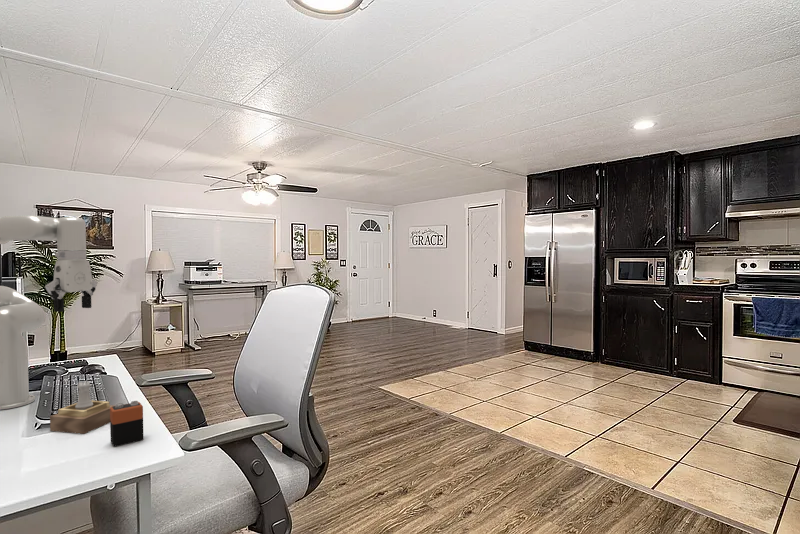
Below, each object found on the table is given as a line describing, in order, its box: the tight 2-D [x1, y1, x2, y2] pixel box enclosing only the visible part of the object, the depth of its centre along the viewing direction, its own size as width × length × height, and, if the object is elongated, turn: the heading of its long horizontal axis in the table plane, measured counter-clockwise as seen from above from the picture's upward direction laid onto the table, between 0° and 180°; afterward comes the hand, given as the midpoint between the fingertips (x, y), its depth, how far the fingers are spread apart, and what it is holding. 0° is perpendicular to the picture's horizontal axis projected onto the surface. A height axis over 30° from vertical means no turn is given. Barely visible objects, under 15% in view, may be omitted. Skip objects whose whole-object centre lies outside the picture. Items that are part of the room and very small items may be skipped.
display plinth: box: [49, 400, 114, 435], centre depth 128 cm, size 11×11×6 cm
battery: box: [109, 400, 144, 447], centre depth 117 cm, size 4×7×10 cm, turn 130°
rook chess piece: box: [75, 380, 94, 410], centre depth 128 cm, size 4×4×8 cm
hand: (73, 309), depth 146 cm, fingers open, 9 cm apart
